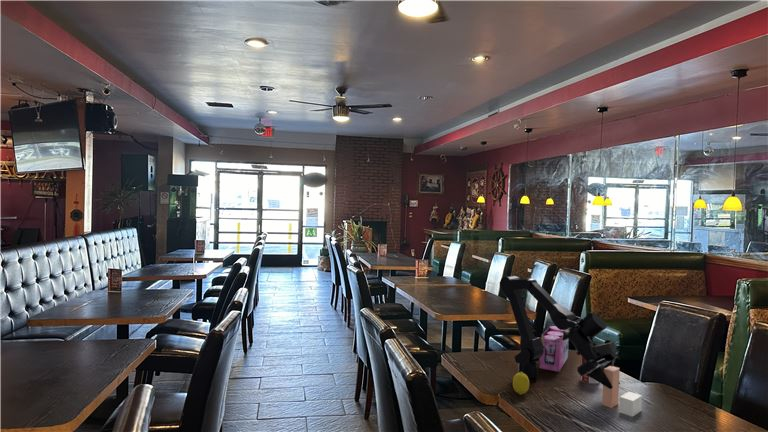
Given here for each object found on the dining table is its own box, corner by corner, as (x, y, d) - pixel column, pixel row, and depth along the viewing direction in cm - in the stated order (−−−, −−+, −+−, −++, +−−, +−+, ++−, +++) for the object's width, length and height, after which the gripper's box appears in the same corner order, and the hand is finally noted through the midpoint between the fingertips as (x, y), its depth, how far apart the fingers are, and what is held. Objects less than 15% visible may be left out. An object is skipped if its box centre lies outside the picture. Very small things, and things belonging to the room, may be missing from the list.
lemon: (529, 393, 164) (530, 370, 164) (528, 399, 159) (529, 375, 159) (512, 390, 166) (513, 368, 166) (511, 396, 161) (512, 373, 161)
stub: (602, 404, 155) (603, 368, 155) (608, 401, 158) (610, 365, 158) (611, 408, 153) (613, 371, 152) (618, 404, 156) (619, 368, 156)
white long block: (577, 399, 160) (578, 383, 160) (587, 394, 165) (588, 378, 165) (632, 418, 147) (633, 401, 147) (641, 412, 151) (642, 395, 151)
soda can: (601, 387, 172) (603, 354, 172) (582, 385, 174) (583, 352, 173) (597, 380, 179) (598, 348, 179) (578, 378, 180) (579, 347, 180)
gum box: (559, 373, 185) (560, 339, 185) (538, 369, 189) (539, 335, 189) (568, 357, 206) (569, 326, 206) (549, 353, 210) (550, 323, 210)
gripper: (588, 336, 152) (622, 380, 144) (613, 327, 164) (645, 368, 156) (563, 354, 158) (595, 397, 150) (589, 344, 170) (620, 384, 162)
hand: (615, 386), depth 154 cm, fingers closed on stub, 5 cm apart
